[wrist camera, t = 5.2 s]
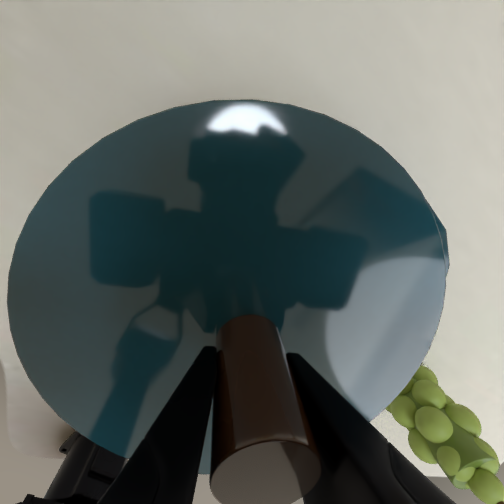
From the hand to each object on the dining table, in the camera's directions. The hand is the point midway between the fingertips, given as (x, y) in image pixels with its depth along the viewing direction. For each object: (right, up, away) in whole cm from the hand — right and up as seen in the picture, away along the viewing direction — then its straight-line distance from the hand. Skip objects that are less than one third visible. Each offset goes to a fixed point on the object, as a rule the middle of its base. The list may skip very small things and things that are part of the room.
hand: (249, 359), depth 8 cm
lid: (0, +1, +1) cm, 1 cm away
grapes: (+17, -11, +20) cm, 28 cm away
